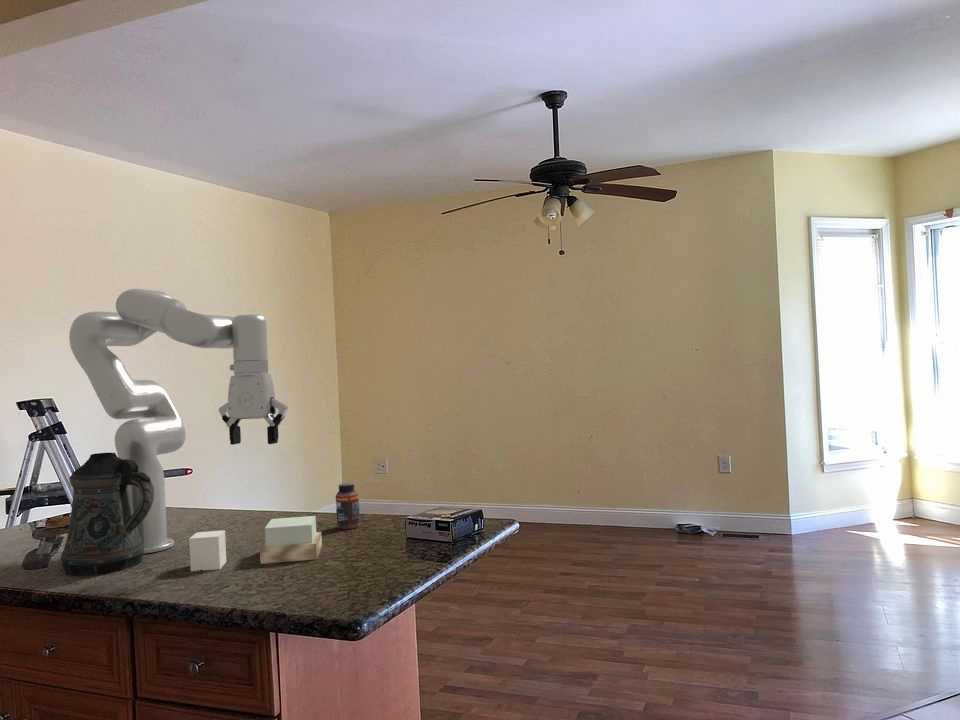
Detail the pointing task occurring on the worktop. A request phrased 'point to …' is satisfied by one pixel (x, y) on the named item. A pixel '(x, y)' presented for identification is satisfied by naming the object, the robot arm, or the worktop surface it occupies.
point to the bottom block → (291, 551)
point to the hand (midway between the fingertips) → (254, 443)
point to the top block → (290, 531)
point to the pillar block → (207, 550)
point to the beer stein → (105, 516)
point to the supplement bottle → (347, 507)
